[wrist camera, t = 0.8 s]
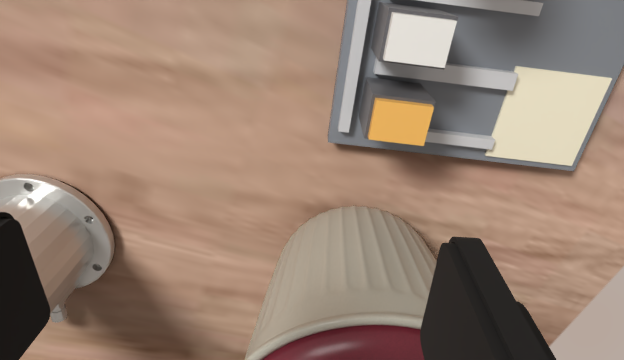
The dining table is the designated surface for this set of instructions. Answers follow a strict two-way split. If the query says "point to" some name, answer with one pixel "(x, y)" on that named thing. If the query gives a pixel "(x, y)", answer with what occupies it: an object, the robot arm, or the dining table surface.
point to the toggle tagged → (395, 111)
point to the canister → (346, 291)
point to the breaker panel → (496, 78)
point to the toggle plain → (413, 35)
